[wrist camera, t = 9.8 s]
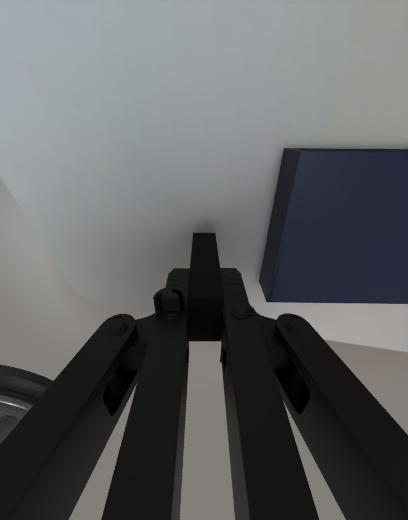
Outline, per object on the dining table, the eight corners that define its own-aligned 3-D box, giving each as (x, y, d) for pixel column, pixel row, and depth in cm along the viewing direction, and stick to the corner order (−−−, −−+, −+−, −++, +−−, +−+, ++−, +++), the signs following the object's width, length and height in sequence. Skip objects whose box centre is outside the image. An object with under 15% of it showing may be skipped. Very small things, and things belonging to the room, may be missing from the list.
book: (259, 281, 21) (266, 302, 18) (284, 148, 15) (300, 151, 12) (415, 283, 21) (445, 304, 18) (509, 150, 14) (574, 153, 12)
